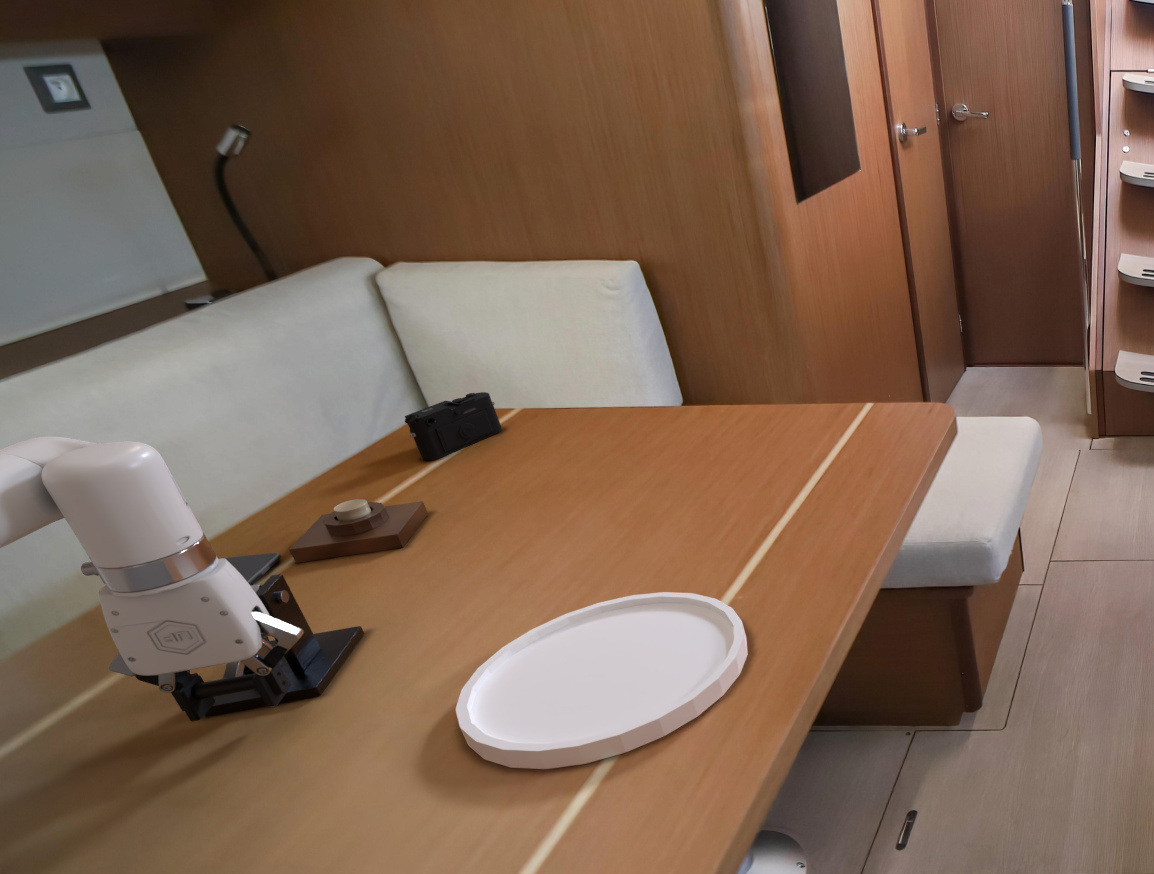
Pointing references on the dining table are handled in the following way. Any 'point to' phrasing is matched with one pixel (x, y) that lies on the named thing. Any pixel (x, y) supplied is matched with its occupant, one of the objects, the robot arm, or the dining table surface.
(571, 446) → the dining table surface
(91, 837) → the dining table surface
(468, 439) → the camera
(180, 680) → the robot arm
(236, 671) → the lever
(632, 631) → the plate
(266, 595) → the bracket
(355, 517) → the button
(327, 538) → the button box
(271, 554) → the smartphone
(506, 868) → the dining table surface
